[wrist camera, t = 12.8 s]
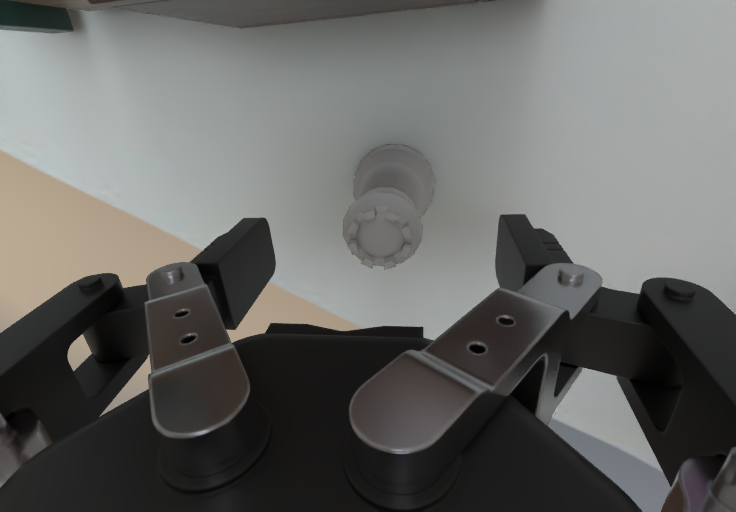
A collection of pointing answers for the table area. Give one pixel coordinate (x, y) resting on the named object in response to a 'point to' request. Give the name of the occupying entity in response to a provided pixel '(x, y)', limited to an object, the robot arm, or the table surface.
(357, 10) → the cabinet
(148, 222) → the table surface
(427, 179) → the rook chess piece
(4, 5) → the drawer
